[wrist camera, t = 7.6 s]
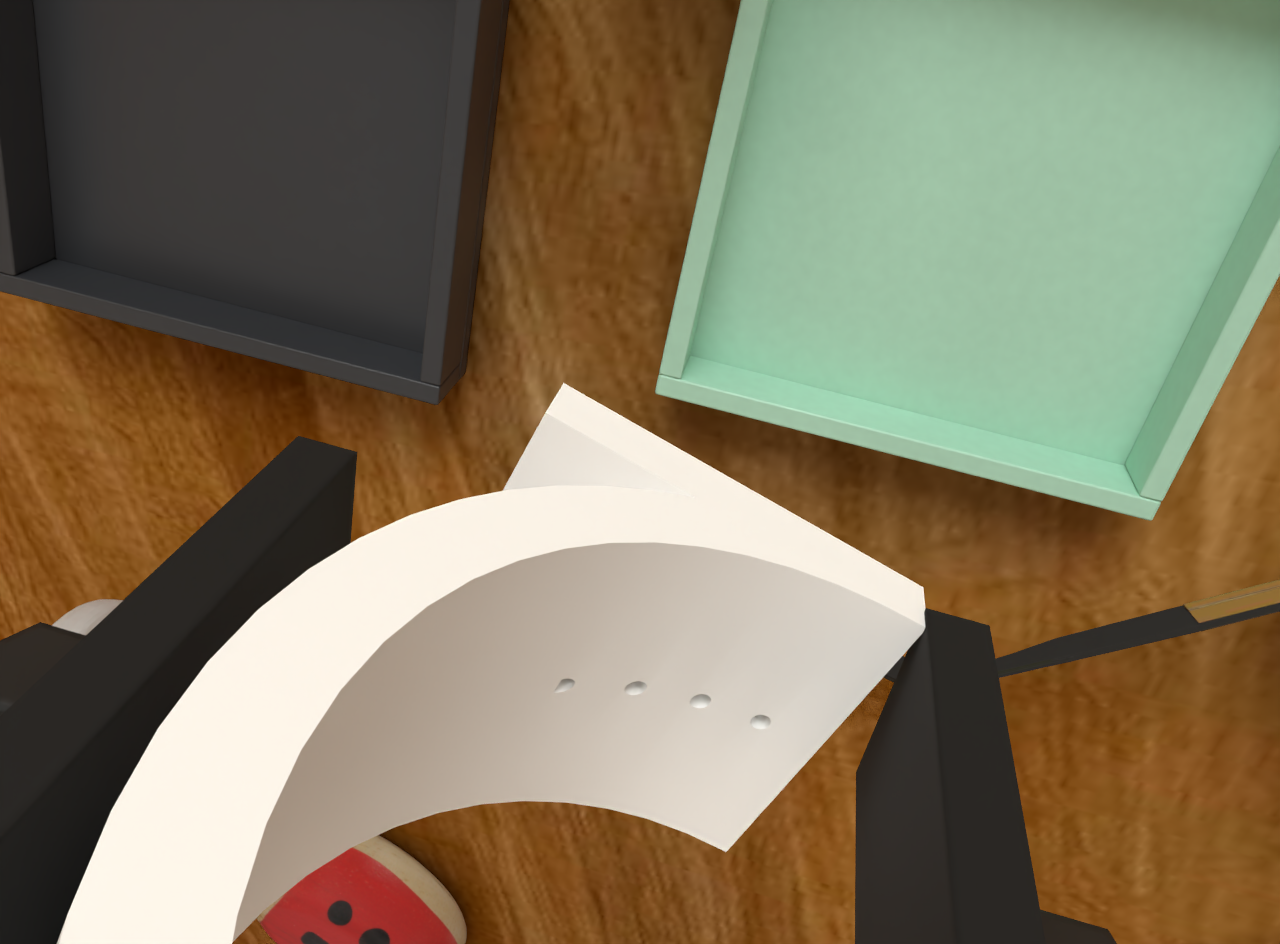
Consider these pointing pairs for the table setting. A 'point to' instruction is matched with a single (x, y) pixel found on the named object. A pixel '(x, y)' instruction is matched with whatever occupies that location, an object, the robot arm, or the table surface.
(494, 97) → the charcoal tray
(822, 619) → the headphone stand
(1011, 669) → the sunglasses
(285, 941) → the ladybug figurine
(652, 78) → the table surface
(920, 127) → the mint tray
